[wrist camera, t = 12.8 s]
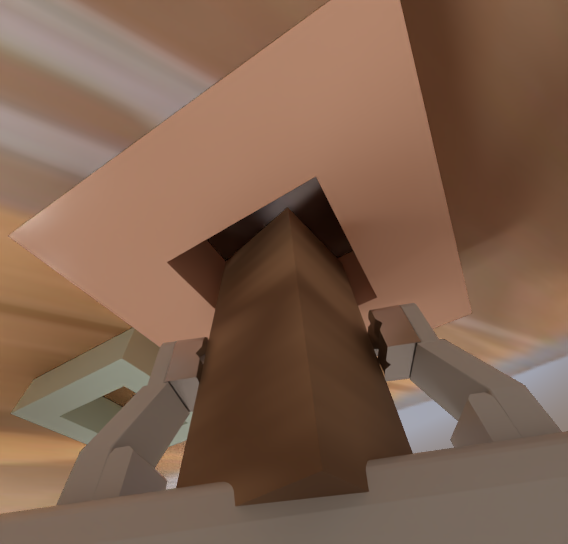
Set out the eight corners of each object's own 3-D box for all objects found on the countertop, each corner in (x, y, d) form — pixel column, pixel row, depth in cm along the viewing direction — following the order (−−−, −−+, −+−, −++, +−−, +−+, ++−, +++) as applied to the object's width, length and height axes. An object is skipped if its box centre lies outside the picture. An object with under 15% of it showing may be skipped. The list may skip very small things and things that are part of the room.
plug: (282, 306, 16) (296, 562, 8) (225, 261, 14) (165, 534, 6) (342, 263, 14) (438, 523, 6) (287, 207, 13) (322, 470, 4)
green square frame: (139, 431, 27) (129, 461, 25) (33, 379, 21) (10, 413, 19) (228, 394, 24) (226, 425, 22) (136, 325, 19) (121, 358, 17)
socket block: (241, 351, 21) (238, 404, 18) (66, 192, 13) (7, 235, 10) (433, 266, 18) (472, 313, 15) (347, -13, 10) (390, -44, 7)
